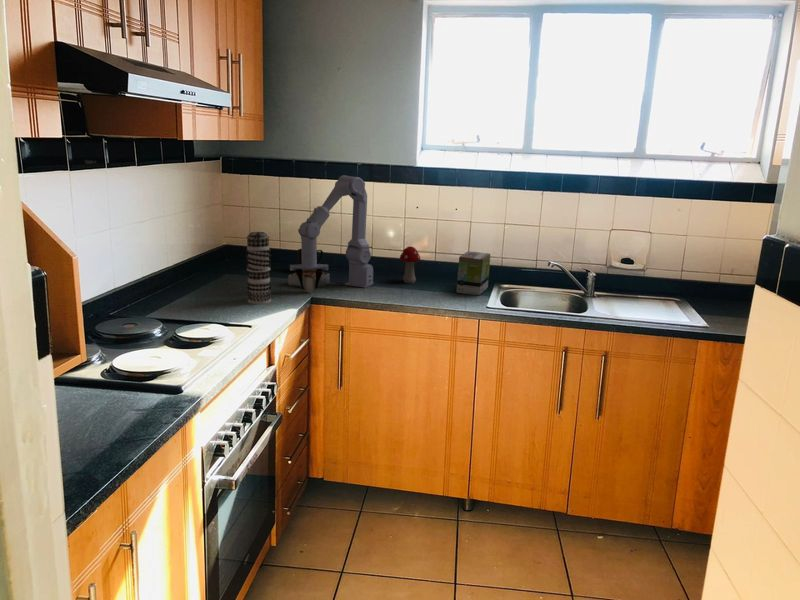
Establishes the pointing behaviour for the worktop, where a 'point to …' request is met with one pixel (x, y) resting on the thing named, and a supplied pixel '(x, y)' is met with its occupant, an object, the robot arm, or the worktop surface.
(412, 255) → the decorative mushroom
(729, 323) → the worktop surface
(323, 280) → the housing
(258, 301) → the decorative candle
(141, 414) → the worktop surface
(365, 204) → the robot arm
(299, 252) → the mug
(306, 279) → the canister
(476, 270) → the tea box
